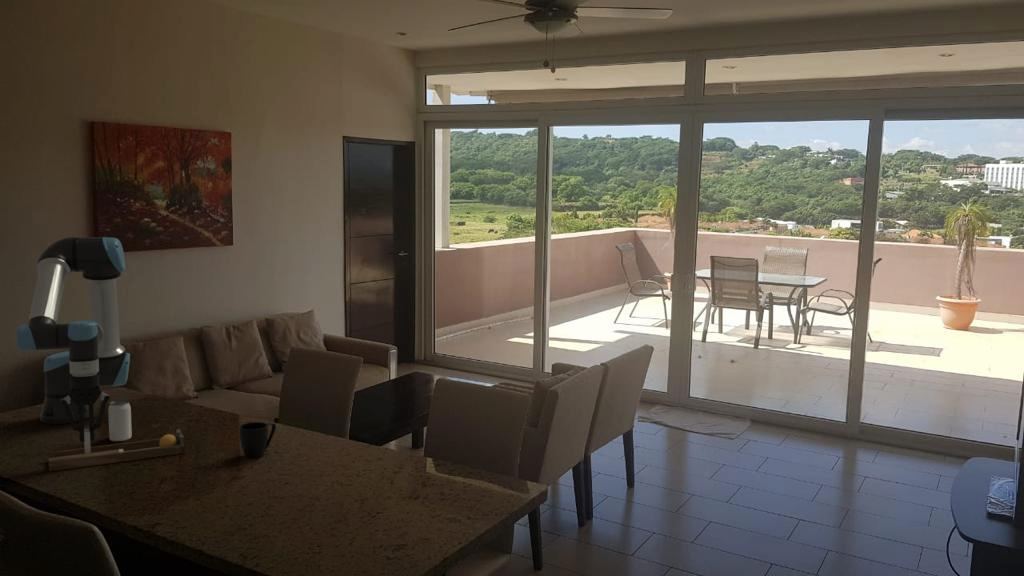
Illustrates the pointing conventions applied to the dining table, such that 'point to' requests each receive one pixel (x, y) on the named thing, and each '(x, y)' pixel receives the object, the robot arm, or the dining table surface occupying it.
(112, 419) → the can
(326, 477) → the dining table surface
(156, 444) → the lane
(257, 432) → the mug
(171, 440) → the ball
